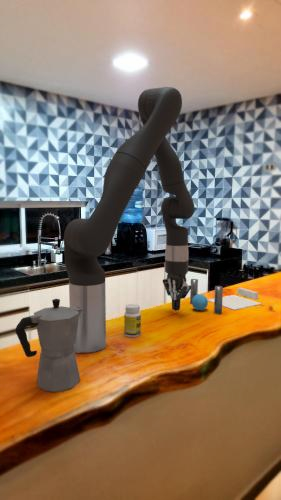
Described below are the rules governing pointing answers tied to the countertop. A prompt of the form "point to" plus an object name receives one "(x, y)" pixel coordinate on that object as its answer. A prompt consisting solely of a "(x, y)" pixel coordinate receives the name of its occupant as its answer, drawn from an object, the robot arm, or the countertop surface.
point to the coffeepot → (54, 345)
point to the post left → (193, 289)
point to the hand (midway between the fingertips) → (175, 309)
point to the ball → (199, 302)
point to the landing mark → (236, 302)
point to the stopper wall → (247, 293)
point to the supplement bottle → (132, 320)
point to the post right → (218, 300)
